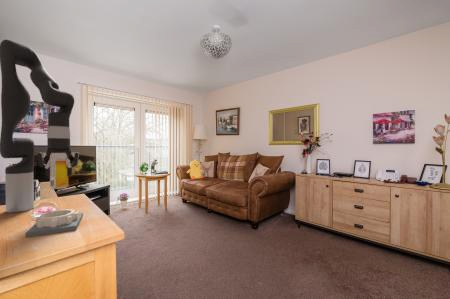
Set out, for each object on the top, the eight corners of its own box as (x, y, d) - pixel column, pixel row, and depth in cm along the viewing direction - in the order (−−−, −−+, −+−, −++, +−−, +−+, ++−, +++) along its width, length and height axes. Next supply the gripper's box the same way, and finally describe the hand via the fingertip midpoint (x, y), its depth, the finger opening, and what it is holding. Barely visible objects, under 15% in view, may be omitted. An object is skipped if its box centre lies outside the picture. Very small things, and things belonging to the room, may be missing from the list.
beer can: (71, 186, 91) (71, 152, 90) (59, 189, 84) (59, 153, 84) (59, 185, 91) (59, 152, 91) (46, 188, 85) (45, 152, 85)
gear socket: (41, 221, 81) (41, 210, 81) (83, 215, 88) (82, 205, 87) (25, 237, 67) (25, 223, 67) (76, 229, 73) (76, 217, 73)
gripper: (81, 138, 94) (81, 174, 94) (39, 137, 87) (40, 176, 88) (78, 137, 87) (78, 177, 88) (33, 136, 80) (33, 179, 81)
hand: (59, 176), depth 88 cm, fingers closed on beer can, 6 cm apart
